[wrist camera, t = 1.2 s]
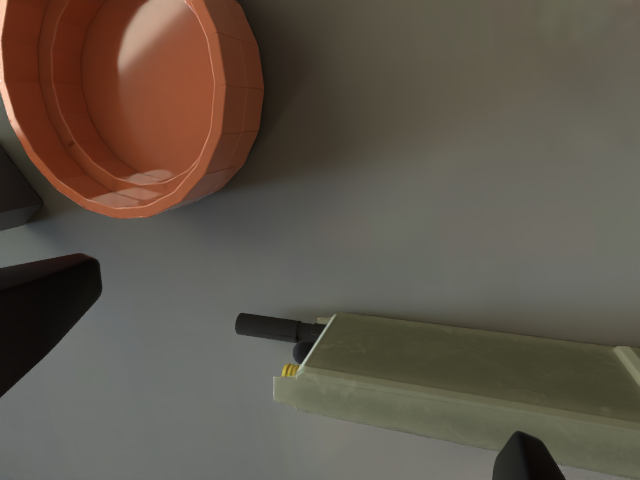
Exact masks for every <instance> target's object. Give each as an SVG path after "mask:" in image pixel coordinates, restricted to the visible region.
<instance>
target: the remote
mask: <svg viewBox="0 0 640 480" xmlns="http://www.w3.org/2000/svg"><path fill="white" fill-rule="evenodd" d="M42 204H43V202H42V201H41V200H40V198H39V197H38V196H37V194H36V193H35V192H34V190H33V189H32V188H31V186H30V185H29V184H28V182H27V181H26V180H25V178H24V177H23V176H22V174H21V173H20V172H19V170H18V169H17V168H16V166H15V165H14V164H13V162H12V161H11V160H10V158H9V157H8V156H7V154H6V153H5V152H4V150H3V149H2V148H1V146H0V231H2V230H6V229H10V228H14V227H18V226H22V225H24V224H25V223H26V222H27V220H28V219H29V218H30V217H31V216H32V215H33V214H34V213H35V212H36V210H37V209H38V208H39V207H40V206H41V205H42Z"/></svg>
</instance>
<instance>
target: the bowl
mask: <svg viewBox="0 0 640 480" xmlns="http://www.w3.org/2000/svg"><path fill="white" fill-rule="evenodd" d="M0 92H1V96H2V99H3V102H4V106H5V109H6V112H7V116H8V119H9V121H10V124H11V126H12V128H13V129H14V131H15V133H16V135H17V137H18V139H19V140H20V142H21V144H22V146H23V148H24V150H25V152H26V153H27V155H28V157H29V158H30V160H31V161H32V162H33V163H34V165H35V166H36V167H37V168H38V169H39V170H40V171H41V173H42V174H43V175H44V176H45V177H46V178H47V179H48V181H49V182H50V183H51V184H52V185H53V186H54V187H55V188H56V189H57V190H59V191H60V192H61V193H63V194H64V195H66V196H67V197H69V198H70V199H72V200H73V201H74V202H76V203H77V204H79V205H80V206H82V207H83V208H85V209H87V210H91V211H94V212H97V213H100V214H103V215H107V216H110V217H113V218H116V219H117V218H118V219H126V218H143V217H152V216H155V215H158V214H161V213H164V212H167V211H170V210H172V209H176V208H178V207H181V206H184V205H187V204H190V203H193V202H196V201H198V200H200V199H202V198H204V197H206V196H208V195H210V194H212V193H214V192H217V191H219V190H220V189H222V187H223V186H224V185H225V184H226V183H227V182H228V181H229V180H230V179H231V178H232V177H233V176H234V175H235V174H236V173H237V172H238V171H239V169H240V168H241V167H242V166H243V164H244V163H245V161H246V159H247V156H248V154H249V152H250V150H251V148H252V145H253V143H254V141H255V139H256V136H257V134H258V130H259V126H260V119H261V111H262V103H263V96H264V82H263V75H262V68H261V61H260V54H259V47H258V44H257V42H256V39H255V37H254V35H253V33H252V30H251V28H250V26H249V23H248V21H247V19H246V17H245V14H244V12H243V10H242V7H241V5H240V4H239V2H238V1H237V0H0Z"/></svg>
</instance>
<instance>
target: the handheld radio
mask: <svg viewBox="0 0 640 480" xmlns="http://www.w3.org/2000/svg"><path fill="white" fill-rule="evenodd" d="M235 330H236V333H237V334H240V335H247V336H254V337H260V338H267V339H273V340H280V341H286V342H293V343H297V344H296V345H295V347H294V349H293V357H294V359H295V361H296V362H297V363H299V364H301V366H300V365H295V364H292V365H291V364H290V363H288V364H286V365H285V366H284V368H283V371H282V377H274V401H277V402H280V403H284V404H287V405H290V406H293V407H295V408H297V409H299V410H301V411H304V412H307V413H312V414H317V415H322V416H327V417H331V418H336V419H341V420H346V421H351V422H356V423H361V424H366V425H371V426H375V427H380V428H385V429H390V430H395V431H400V432H405V433H410V434H415V435H419V436H424V437H429V438H434V439H439V440H444V441H449V442H454V443H459V444H463V445H468V446H473V447H478V448H483V449H488V450H493V451H498V452H500V451H501V450H502V449H503V447H504V446H505V444H506V443H507V441H508V440H509V438H510V437H511V436H512V434H513V433H514V432H516V431H522V432H524V433H527V434H529V435H532V436H534V437H537V438H539V439H540V440H542V442H543V443H544V444H545V445H546V447H547V449H548V450H549V452H550V454H551V456H552V457H553V459H554V461H555V462H556V464H561V465H566V466H571V467H576V468H581V469H586V470H590V471H595V472H600V473H605V474H610V475H615V476H620V477H625V478H630V479H634V480H640V348H638V347H630V346H617V347H612V346H604V345H596V344H588V343H580V342H572V341H564V340H556V339H548V338H540V337H533V336H525V335H517V334H509V333H501V332H493V331H485V330H477V329H469V328H461V327H453V326H445V325H437V324H429V323H421V322H414V321H406V320H398V319H390V318H382V317H374V316H366V315H358V314H350V313H336V314H334V315H333V316H332V317H317V323H315V324H308V323H302V322H301V321H296V320H289V319H281V318H274V317H267V316H260V315H253V314H246V313H240V314H239V315H238V317H237V320H236V324H235Z"/></svg>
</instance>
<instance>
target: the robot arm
mask: <svg viewBox="0 0 640 480" xmlns="http://www.w3.org/2000/svg"><path fill="white" fill-rule="evenodd" d="M101 292H102V280H101V271H100V264H99V262H98V260H97V259H95V258H93V257H90V256H88V255H85V254H82V253H77V254H71V255H66V256H61V257H56V258H51V259H45V260H40V261H35V262H30V263H25V264H19V265H14V266H9V267H4V268H0V398H1V397H2V396H3V395H4V394H5V393H6V392H7V391H8V390H9V389H10V388H11V387H13V386H14V385H15V384H16V383H17V382H18V381H19V380H20V379H21V378H22V377H23V376H24V375H26V374H27V373H28V372H29V371H30V370H31V369H32V368H33V367H34V366H35V365H36V364H37V363H39V362H40V361H41V360H42V359H43V358H44V357H45V356H46V355H47V354H48V353H49V352H50V351H51V350H52V349H53V348H54V347H55V346H56V345H57V344H58V343H59V342H60V340H61V339H62V338H63V337H64V336H65V335H66V334H67V333H68V332H69V330H70V329H71V328H72V327H73V326H74V325H75V324H76V323H77V322H78V321H79V319H80V318H81V317H82V316H83V315H84V314H85V313H86V312H87V311H88V310H89V308H90V307H91V306H92V305H93V304H94V303H95V302H96V301H97V300H98V298H99V297H100V295H101ZM492 480H566V479H565V477H564V476H563V474H562V472H561V471H560V469H559V467H558V466H557V464H556V462H555V461H554V459H553V457H552V456H551V454H550V452H549V450H548V449H547V447H546V445H545V444H544V443H543V442H542V440H540V439H539V438H537V437H534V436H532V435H529V434H527V433H524V432H522V431H516V432H514V433H513V434H512V436H511V437H510V438H509V440H508V441H507V443H506V444H505V446H504V447H503V449H502V450H501V451H500V453H499V454H498V456H497V458H496V461H495V464H494V469H493V478H492Z"/></svg>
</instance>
